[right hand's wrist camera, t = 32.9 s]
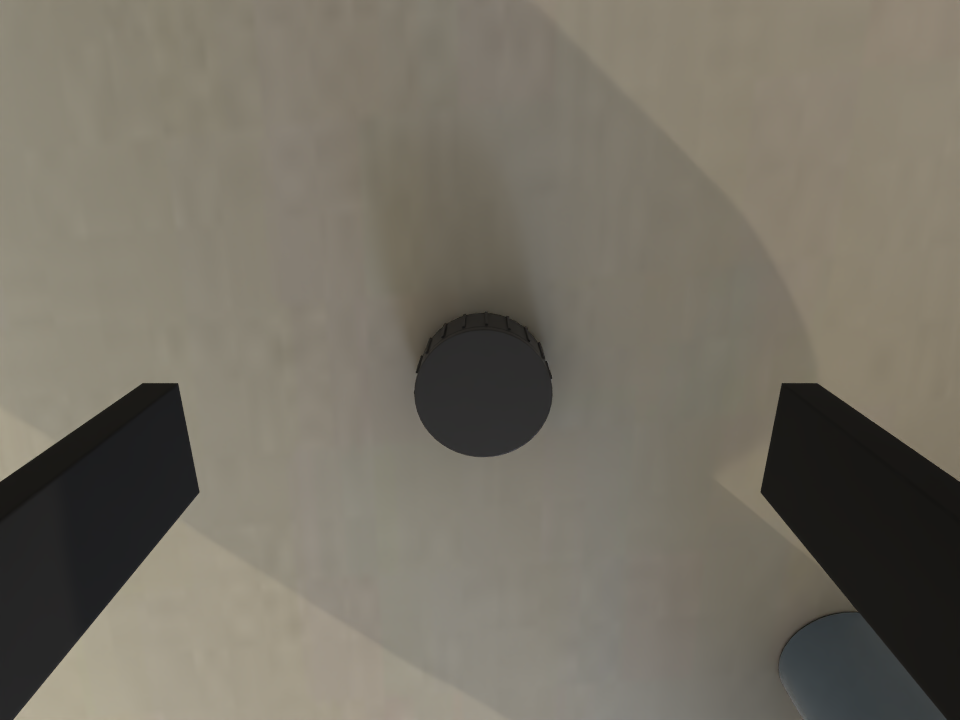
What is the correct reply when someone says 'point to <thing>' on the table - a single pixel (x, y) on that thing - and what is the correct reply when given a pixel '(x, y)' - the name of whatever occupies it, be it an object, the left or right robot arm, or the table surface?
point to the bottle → (849, 674)
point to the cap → (483, 385)
